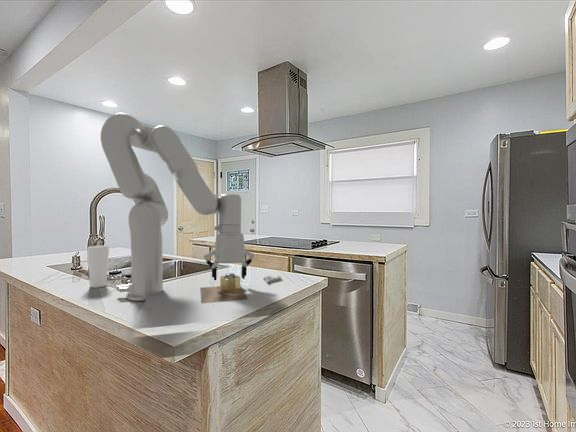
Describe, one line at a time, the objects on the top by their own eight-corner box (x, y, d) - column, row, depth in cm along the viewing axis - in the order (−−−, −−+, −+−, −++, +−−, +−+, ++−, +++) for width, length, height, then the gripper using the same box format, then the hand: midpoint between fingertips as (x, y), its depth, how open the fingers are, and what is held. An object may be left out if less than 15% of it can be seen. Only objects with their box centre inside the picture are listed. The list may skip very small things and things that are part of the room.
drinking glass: (90, 284, 116) (90, 245, 115) (110, 283, 118) (110, 245, 117) (85, 289, 109) (84, 247, 109) (106, 288, 111) (105, 247, 111)
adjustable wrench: (250, 296, 104) (249, 290, 104) (234, 293, 107) (234, 288, 107) (283, 279, 126) (283, 275, 126) (269, 278, 129) (269, 274, 129)
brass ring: (221, 291, 102) (221, 279, 101) (219, 286, 108) (219, 275, 108) (240, 290, 103) (241, 278, 103) (238, 285, 110) (238, 274, 110)
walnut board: (201, 308, 89) (201, 303, 89) (200, 291, 107) (200, 287, 107) (248, 304, 94) (248, 299, 93) (240, 289, 111) (240, 284, 111)
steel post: (226, 290, 104) (226, 275, 104) (225, 287, 107) (225, 273, 107) (235, 289, 105) (235, 274, 104) (234, 287, 108) (234, 273, 108)
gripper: (204, 230, 99) (203, 282, 99) (256, 230, 104) (255, 279, 105) (203, 229, 106) (203, 277, 107) (252, 228, 111) (251, 275, 112)
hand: (229, 278), depth 106 cm, fingers open, 9 cm apart
